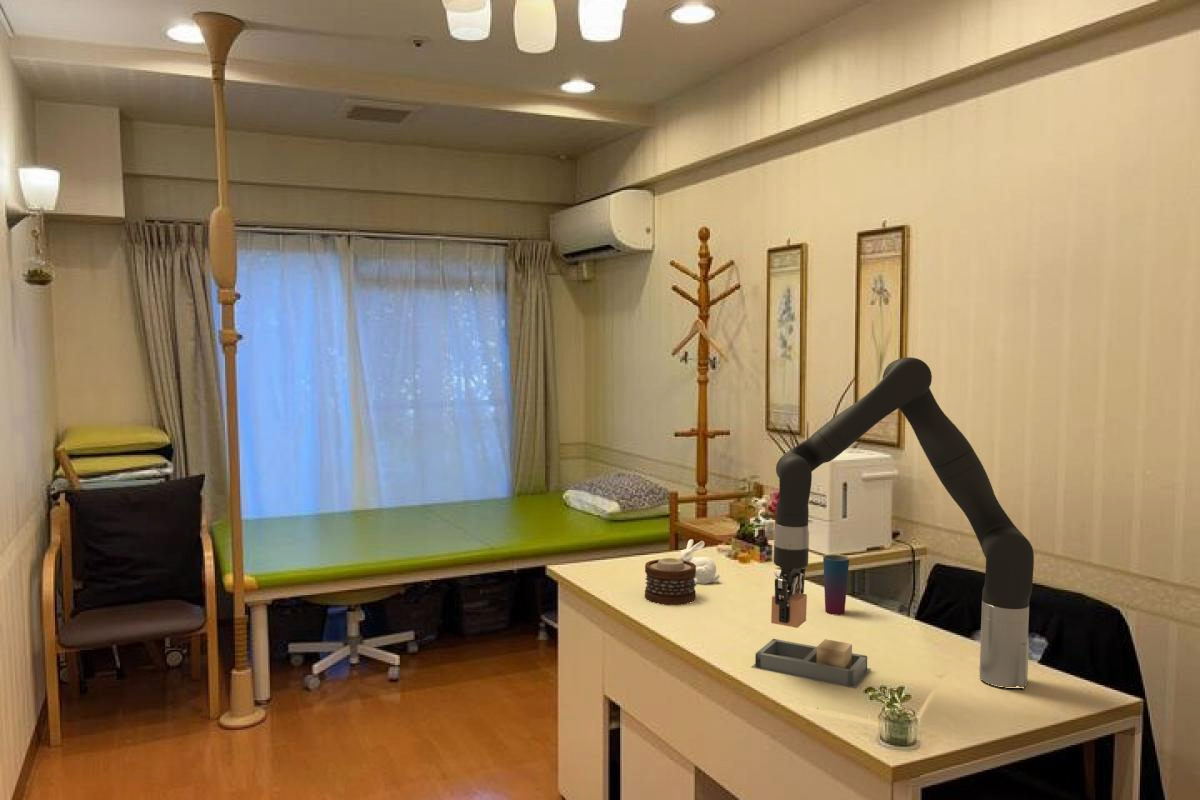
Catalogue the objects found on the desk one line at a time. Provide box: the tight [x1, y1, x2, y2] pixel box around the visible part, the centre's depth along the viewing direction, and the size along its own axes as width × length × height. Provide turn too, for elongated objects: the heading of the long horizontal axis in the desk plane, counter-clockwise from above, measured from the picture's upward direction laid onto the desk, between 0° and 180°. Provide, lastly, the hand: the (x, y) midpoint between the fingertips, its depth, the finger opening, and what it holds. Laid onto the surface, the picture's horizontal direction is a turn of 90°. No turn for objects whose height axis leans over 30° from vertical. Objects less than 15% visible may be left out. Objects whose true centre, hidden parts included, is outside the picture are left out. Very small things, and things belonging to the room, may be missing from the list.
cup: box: [822, 554, 850, 616], centre depth 242 cm, size 7×7×15 cm
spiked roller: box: [644, 557, 697, 606], centre depth 255 cm, size 15×11×15 cm
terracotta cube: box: [770, 591, 808, 629], centre depth 200 cm, size 6×6×6 cm
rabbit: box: [678, 539, 721, 585], centre depth 273 cm, size 12×9×12 cm
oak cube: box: [816, 638, 853, 669], centre depth 195 cm, size 6×6×6 cm
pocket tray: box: [751, 638, 872, 689], centre depth 198 cm, size 23×13×4 cm, turn 59°
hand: (789, 618), depth 200 cm, fingers closed on terracotta cube, 6 cm apart
